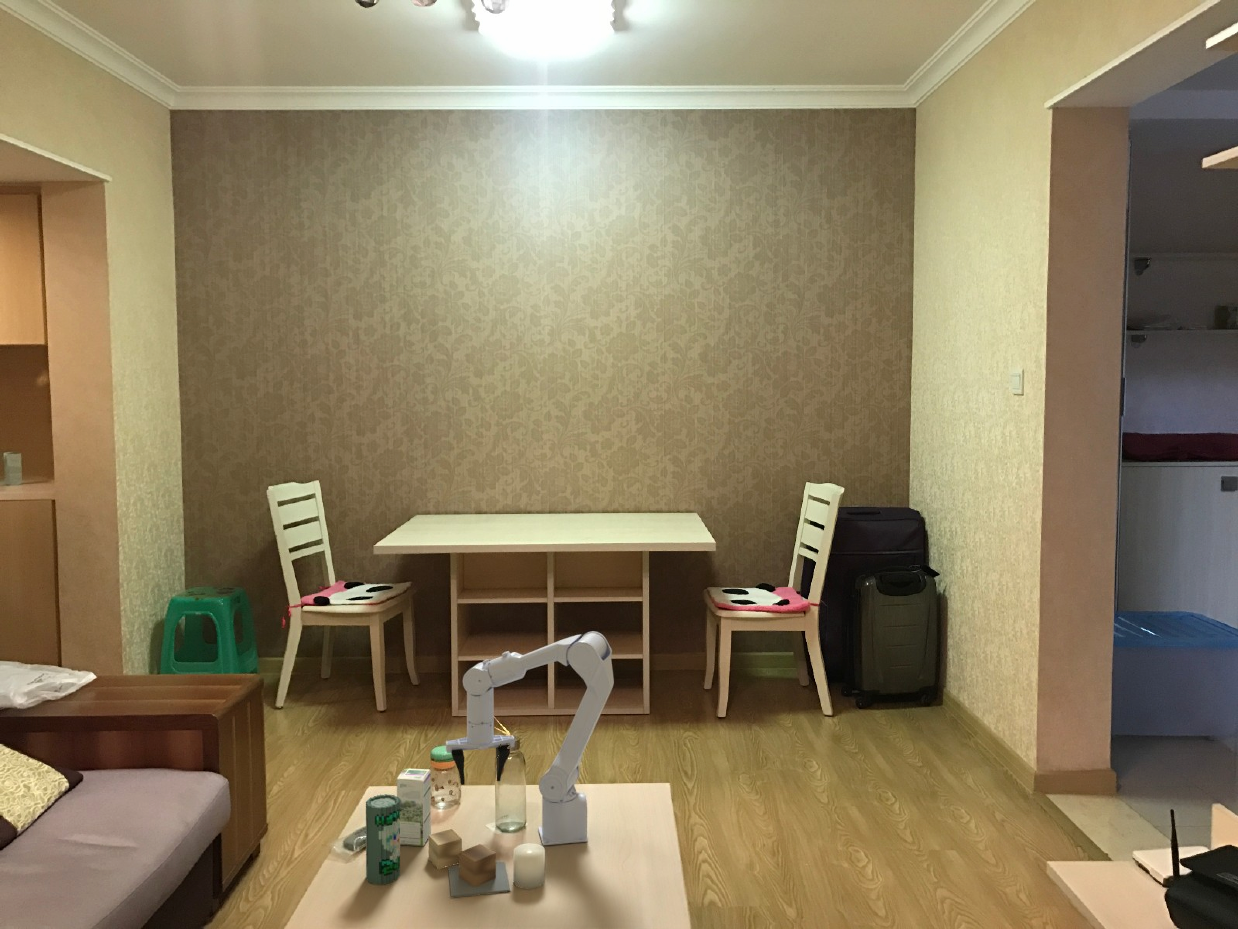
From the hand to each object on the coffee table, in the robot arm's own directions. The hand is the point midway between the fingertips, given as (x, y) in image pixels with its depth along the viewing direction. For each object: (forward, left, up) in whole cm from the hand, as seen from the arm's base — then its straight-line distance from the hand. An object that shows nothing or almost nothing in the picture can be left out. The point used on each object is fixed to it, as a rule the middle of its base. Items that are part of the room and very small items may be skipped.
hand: (480, 781), depth 206 cm
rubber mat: (+2, +23, -10) cm, 25 cm away
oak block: (+8, +14, -10) cm, 19 cm away
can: (+20, +18, -10) cm, 29 cm away
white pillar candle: (-8, +25, -10) cm, 28 cm away
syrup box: (+14, +4, -10) cm, 18 cm away
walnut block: (+2, +23, -10) cm, 25 cm away
